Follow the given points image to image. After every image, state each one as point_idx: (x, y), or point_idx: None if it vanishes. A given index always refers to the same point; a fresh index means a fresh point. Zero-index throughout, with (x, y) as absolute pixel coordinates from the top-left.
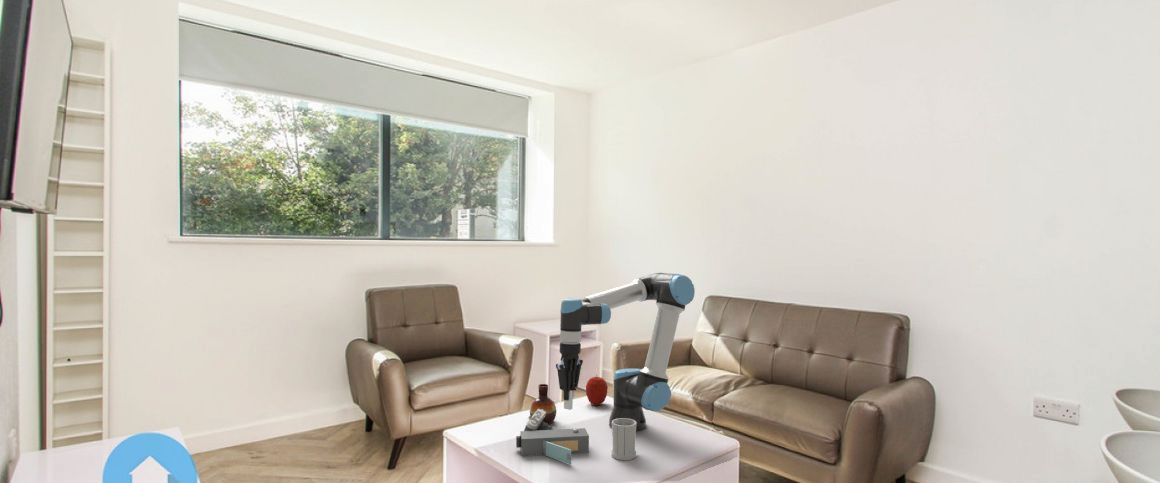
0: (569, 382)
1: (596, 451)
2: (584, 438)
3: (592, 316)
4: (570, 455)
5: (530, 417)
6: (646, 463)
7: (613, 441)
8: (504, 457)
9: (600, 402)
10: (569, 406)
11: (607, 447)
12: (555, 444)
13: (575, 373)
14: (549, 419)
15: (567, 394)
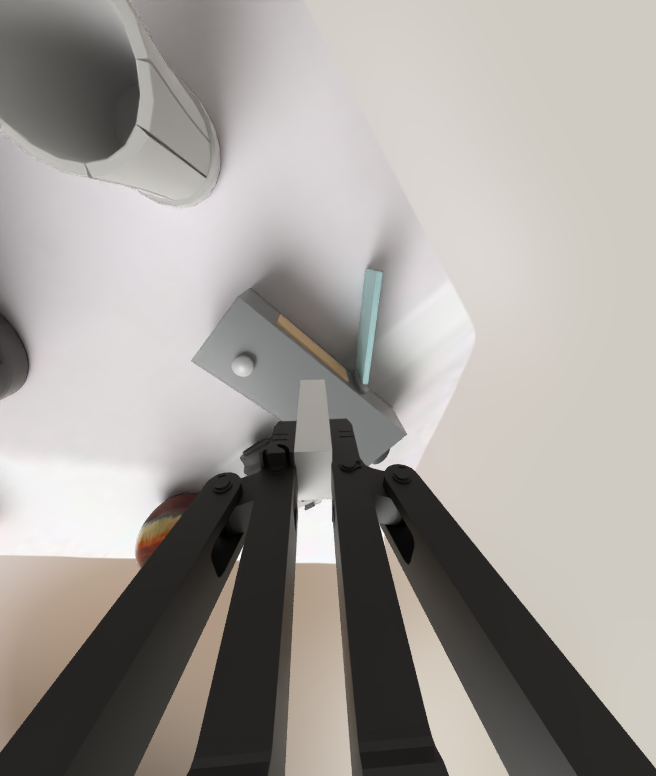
0: (356, 531)
1: (223, 272)
2: (255, 307)
3: None
4: (376, 270)
5: (309, 503)
6: None
7: (190, 161)
8: (419, 428)
9: None
10: (325, 390)
11: (165, 263)
12: (367, 348)
13: (155, 672)
14: (189, 501)
15: (348, 445)
